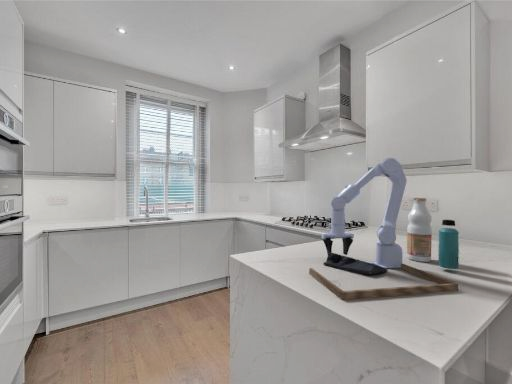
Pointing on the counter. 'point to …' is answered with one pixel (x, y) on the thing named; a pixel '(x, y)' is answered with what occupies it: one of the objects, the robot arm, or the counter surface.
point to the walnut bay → (368, 293)
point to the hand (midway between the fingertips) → (337, 254)
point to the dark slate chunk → (352, 264)
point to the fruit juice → (419, 232)
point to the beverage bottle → (448, 246)
